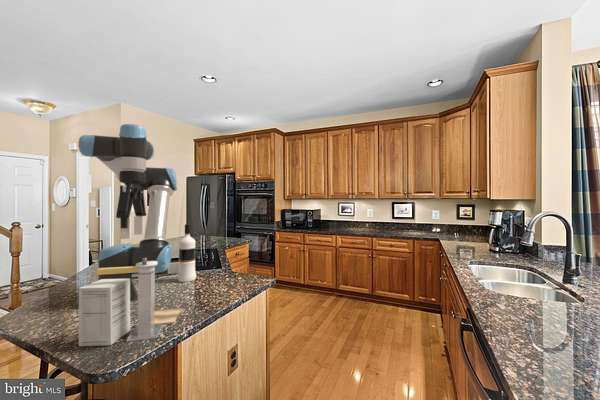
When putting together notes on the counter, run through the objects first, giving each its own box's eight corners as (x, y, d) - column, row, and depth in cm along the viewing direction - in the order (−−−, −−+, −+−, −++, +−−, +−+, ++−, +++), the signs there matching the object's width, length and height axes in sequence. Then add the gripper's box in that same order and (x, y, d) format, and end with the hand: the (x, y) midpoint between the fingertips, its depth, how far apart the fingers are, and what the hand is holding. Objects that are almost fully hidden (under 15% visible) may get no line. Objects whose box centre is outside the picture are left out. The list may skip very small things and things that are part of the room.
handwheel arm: (103, 272, 80) (103, 256, 80) (159, 268, 84) (160, 254, 84) (92, 277, 75) (93, 261, 75) (154, 273, 78) (154, 258, 79)
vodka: (185, 283, 131) (185, 225, 131) (173, 281, 135) (173, 224, 136) (200, 278, 139) (200, 223, 140) (188, 276, 143) (188, 223, 144)
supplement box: (131, 330, 82) (131, 277, 83) (111, 346, 73) (111, 287, 73) (101, 330, 82) (101, 278, 82) (77, 346, 73) (77, 287, 73)
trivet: (146, 312, 96) (146, 311, 96) (181, 309, 99) (181, 307, 99) (134, 327, 84) (134, 325, 84) (174, 323, 87) (174, 321, 87)
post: (136, 328, 83) (137, 270, 84) (163, 325, 85) (164, 268, 86) (126, 341, 75) (127, 277, 76) (156, 338, 77) (156, 275, 78)
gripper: (133, 174, 97) (133, 232, 96) (102, 166, 74) (102, 241, 74) (155, 175, 98) (155, 232, 98) (131, 166, 76) (131, 240, 76)
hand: (132, 236), depth 86 cm, fingers open, 11 cm apart
